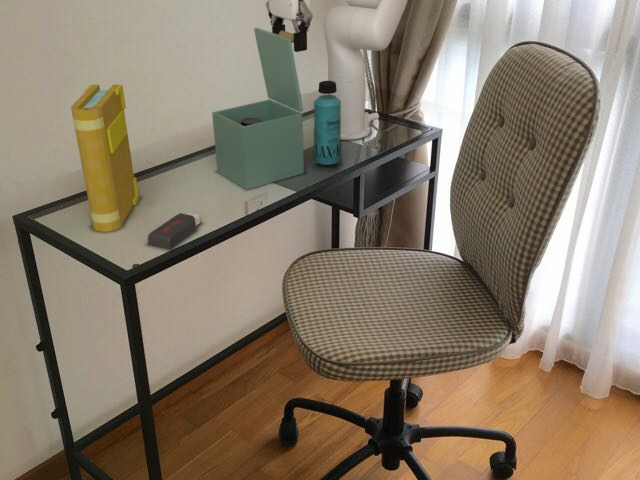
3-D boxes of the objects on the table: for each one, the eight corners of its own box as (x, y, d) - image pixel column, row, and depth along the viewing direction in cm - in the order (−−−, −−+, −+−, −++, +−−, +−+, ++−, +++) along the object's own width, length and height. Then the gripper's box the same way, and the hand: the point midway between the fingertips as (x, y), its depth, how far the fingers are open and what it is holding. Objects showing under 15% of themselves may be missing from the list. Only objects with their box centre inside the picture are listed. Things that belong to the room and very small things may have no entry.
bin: (247, 189, 176) (243, 127, 169) (217, 171, 186) (211, 112, 178) (303, 173, 184) (302, 113, 176) (272, 156, 193) (269, 99, 186)
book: (109, 197, 174) (89, 84, 160) (139, 197, 174) (122, 84, 160) (87, 231, 160) (64, 110, 146) (120, 231, 159) (100, 110, 146)
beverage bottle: (308, 166, 188) (306, 82, 177) (327, 158, 192) (326, 76, 181) (328, 173, 184) (327, 87, 173) (347, 165, 188) (347, 81, 177)
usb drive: (148, 244, 154) (146, 231, 153) (182, 220, 163) (181, 208, 162) (170, 249, 152) (168, 236, 151) (204, 225, 161) (202, 212, 160)
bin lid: (287, 39, 166) (308, 31, 168) (253, 28, 175) (274, 20, 177) (300, 112, 176) (320, 103, 178) (268, 98, 185) (287, 89, 188)
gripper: (325, -36, 161) (326, 52, 171) (278, -45, 173) (282, 37, 183) (295, -32, 158) (298, 57, 167) (250, -42, 170) (254, 42, 179)
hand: (289, 46), depth 175 cm, fingers open, 7 cm apart
